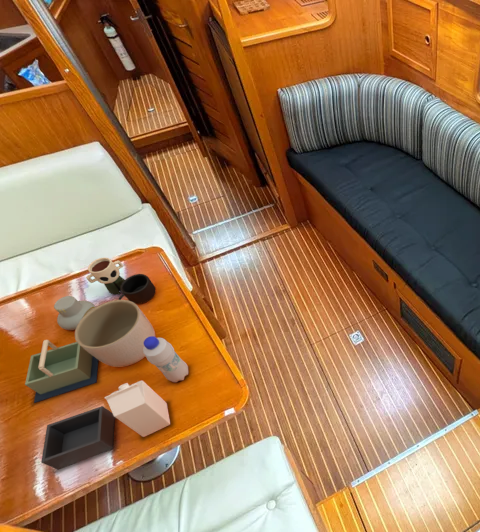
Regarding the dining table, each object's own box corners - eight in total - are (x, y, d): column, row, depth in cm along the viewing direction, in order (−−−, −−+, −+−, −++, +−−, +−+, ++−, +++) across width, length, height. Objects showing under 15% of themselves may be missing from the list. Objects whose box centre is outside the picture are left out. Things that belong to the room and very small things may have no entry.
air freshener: (83, 335, 129) (64, 317, 122) (60, 332, 130) (39, 315, 122) (103, 308, 136) (87, 290, 129) (81, 306, 137) (63, 288, 130)
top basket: (40, 394, 115) (11, 376, 107) (45, 365, 121) (18, 346, 113) (90, 378, 119) (66, 359, 110) (93, 351, 125) (70, 331, 116)
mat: (34, 403, 114) (33, 402, 114) (42, 362, 122) (41, 362, 122) (96, 382, 118) (96, 382, 118) (99, 345, 127) (99, 344, 126)
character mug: (107, 303, 138) (86, 279, 128) (100, 292, 141) (78, 268, 131) (139, 285, 143) (120, 261, 133) (131, 275, 146) (112, 251, 137)
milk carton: (170, 424, 110) (137, 396, 96) (143, 437, 108) (105, 410, 94) (167, 403, 114) (134, 372, 100) (140, 415, 112) (103, 385, 98)
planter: (104, 383, 118) (73, 358, 107) (103, 339, 128) (75, 312, 117) (164, 360, 123) (141, 333, 112) (159, 319, 133) (138, 291, 122)
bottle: (164, 374, 120) (131, 340, 105) (185, 360, 123) (156, 325, 108) (173, 389, 117) (141, 356, 102) (195, 374, 120) (166, 340, 105)
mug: (146, 282, 144) (136, 270, 139) (163, 292, 141) (154, 279, 136) (117, 306, 137) (106, 293, 132) (134, 316, 134) (124, 304, 129)
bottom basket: (57, 469, 102) (41, 462, 97) (62, 433, 108) (47, 424, 103) (113, 449, 106) (99, 441, 101) (115, 415, 112) (102, 405, 107)
